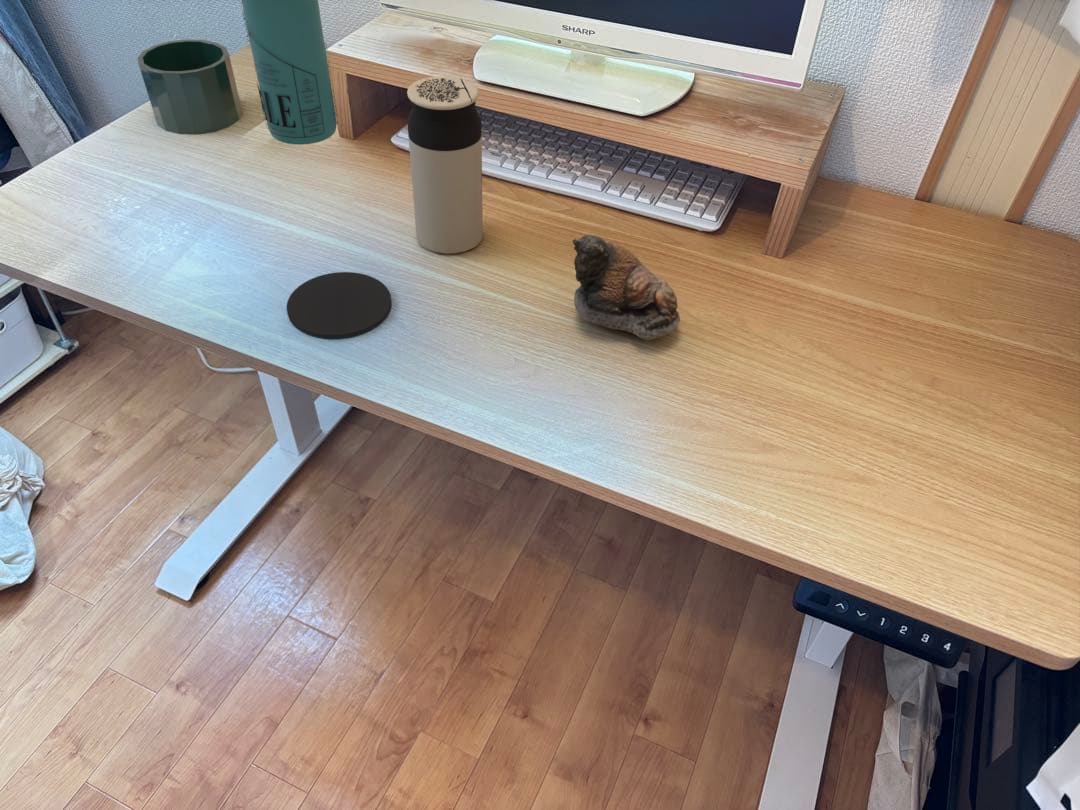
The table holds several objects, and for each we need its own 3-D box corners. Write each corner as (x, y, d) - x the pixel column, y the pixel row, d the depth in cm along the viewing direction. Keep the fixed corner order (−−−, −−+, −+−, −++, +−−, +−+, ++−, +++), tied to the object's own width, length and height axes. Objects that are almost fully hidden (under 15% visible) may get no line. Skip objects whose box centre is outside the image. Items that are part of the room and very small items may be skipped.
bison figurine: (680, 317, 87) (697, 238, 79) (671, 358, 82) (688, 278, 75) (573, 296, 88) (581, 218, 81) (558, 335, 84) (565, 255, 76)
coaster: (359, 350, 81) (358, 346, 80) (266, 322, 83) (265, 318, 83) (409, 290, 88) (409, 286, 87) (323, 267, 90) (322, 262, 90)
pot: (211, 152, 108) (191, 79, 101) (142, 135, 110) (118, 63, 103) (260, 118, 116) (245, 48, 108) (195, 103, 118) (176, 34, 111)
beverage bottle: (349, 131, 76) (317, -110, 62) (329, 165, 72) (290, -89, 58) (282, 126, 77) (236, -117, 63) (259, 158, 72) (202, -96, 58)
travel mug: (417, 257, 92) (405, 107, 80) (416, 220, 98) (404, 74, 85) (485, 254, 93) (483, 106, 81) (480, 218, 99) (478, 74, 86)
